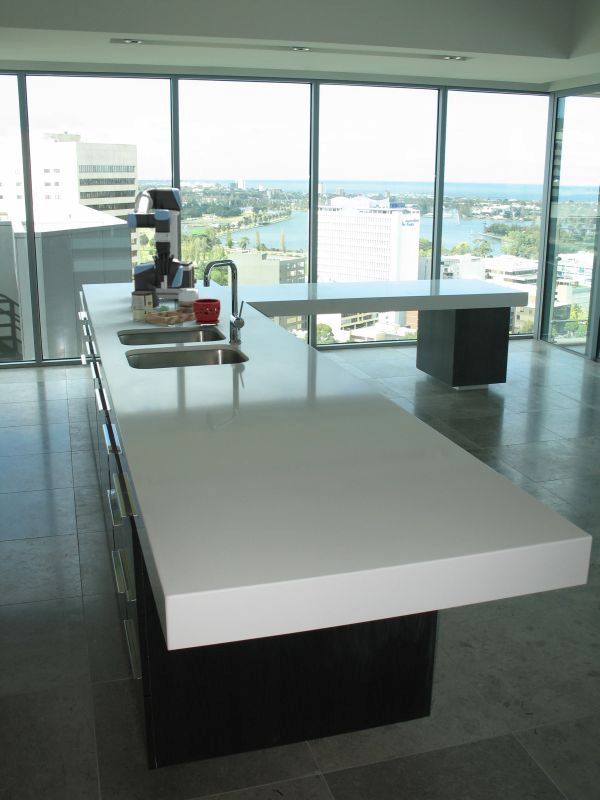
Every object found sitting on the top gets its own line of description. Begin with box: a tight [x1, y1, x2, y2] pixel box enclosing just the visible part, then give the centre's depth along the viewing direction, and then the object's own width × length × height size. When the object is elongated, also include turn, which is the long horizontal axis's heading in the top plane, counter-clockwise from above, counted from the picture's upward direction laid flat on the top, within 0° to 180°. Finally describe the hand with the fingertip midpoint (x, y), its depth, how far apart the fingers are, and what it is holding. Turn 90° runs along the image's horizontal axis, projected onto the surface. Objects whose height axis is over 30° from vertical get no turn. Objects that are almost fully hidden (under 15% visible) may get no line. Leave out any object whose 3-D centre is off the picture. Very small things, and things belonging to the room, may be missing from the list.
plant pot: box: [193, 298, 221, 325], centre depth 405 cm, size 13×13×12 cm
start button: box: [160, 304, 170, 312], centre depth 426 cm, size 4×4×4 cm
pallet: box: [144, 308, 197, 327], centre depth 417 cm, size 30×16×4 cm, turn 142°
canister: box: [177, 288, 199, 314], centre depth 421 cm, size 10×10×14 cm
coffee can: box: [131, 290, 154, 323], centre depth 416 cm, size 10×10×14 cm
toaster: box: [139, 259, 200, 300], centre depth 495 cm, size 18×34×21 cm, turn 89°
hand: (164, 288), depth 423 cm, fingers closed
